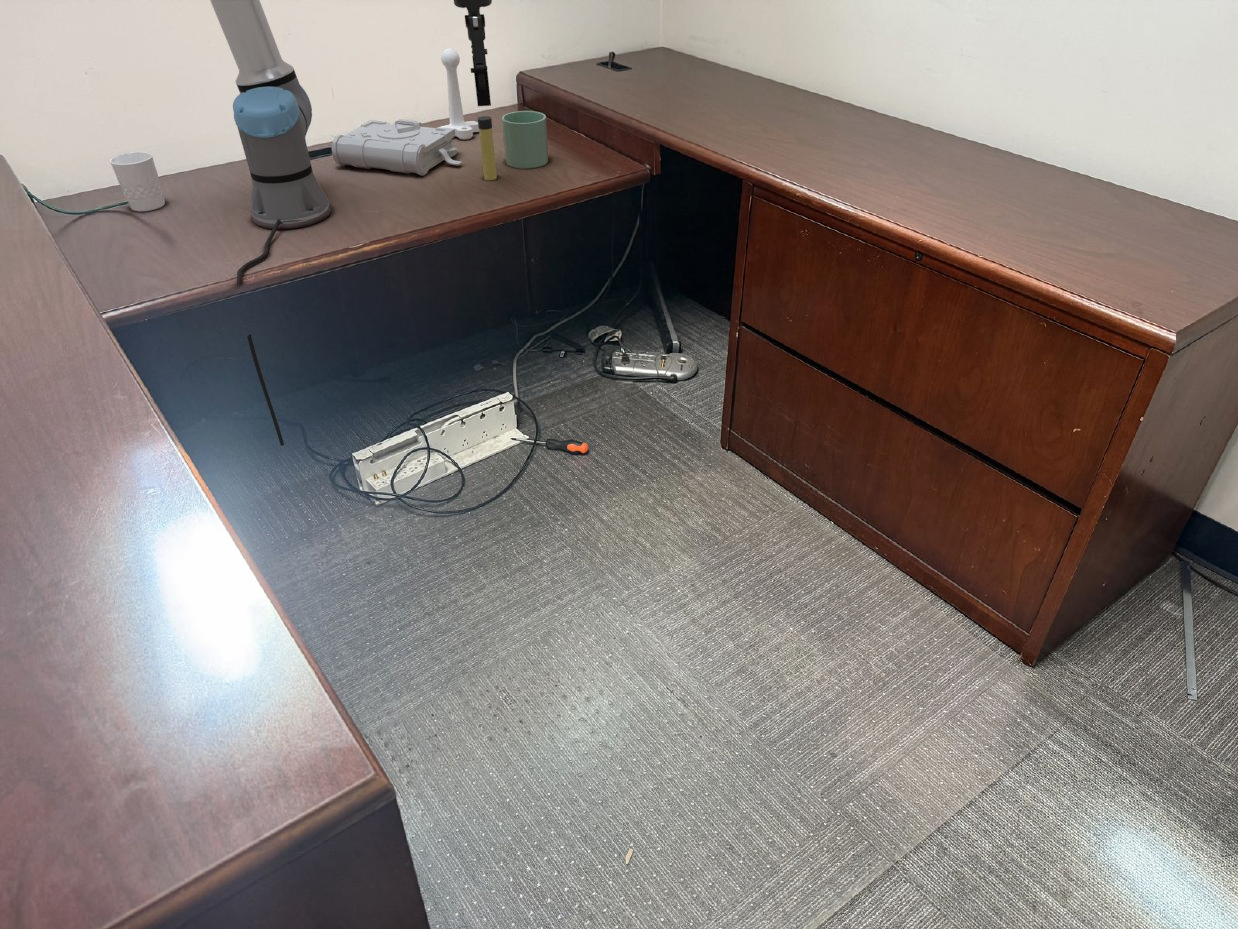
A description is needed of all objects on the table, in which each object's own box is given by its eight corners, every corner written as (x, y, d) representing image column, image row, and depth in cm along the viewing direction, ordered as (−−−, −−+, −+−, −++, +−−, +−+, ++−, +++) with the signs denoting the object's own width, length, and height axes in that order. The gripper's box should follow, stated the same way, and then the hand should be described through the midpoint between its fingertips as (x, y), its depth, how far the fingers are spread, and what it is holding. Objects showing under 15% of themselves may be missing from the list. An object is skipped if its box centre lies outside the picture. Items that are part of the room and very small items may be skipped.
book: (440, 181, 188) (436, 146, 184) (331, 168, 195) (325, 134, 191) (478, 156, 203) (475, 123, 199) (375, 144, 210) (370, 112, 205)
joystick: (472, 128, 219) (464, 44, 207) (488, 135, 215) (480, 49, 203) (434, 136, 214) (424, 49, 202) (449, 143, 209) (440, 55, 197)
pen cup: (550, 166, 196) (547, 122, 189) (507, 169, 194) (503, 124, 188) (546, 153, 203) (543, 109, 197) (504, 155, 202) (500, 111, 196)
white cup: (153, 214, 174) (135, 165, 168) (119, 211, 176) (100, 162, 170) (176, 200, 180) (160, 152, 174) (143, 197, 182) (126, 150, 176)
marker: (497, 179, 189) (491, 119, 181) (484, 180, 189) (477, 120, 181) (496, 175, 191) (491, 115, 183) (483, 176, 191) (477, 116, 183)
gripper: (492, -8, 157) (504, 111, 170) (487, -28, 176) (498, 80, 190) (452, -6, 156) (466, 114, 169) (451, -27, 176) (464, 82, 189)
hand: (483, 96), depth 179 cm, fingers open, 13 cm apart
